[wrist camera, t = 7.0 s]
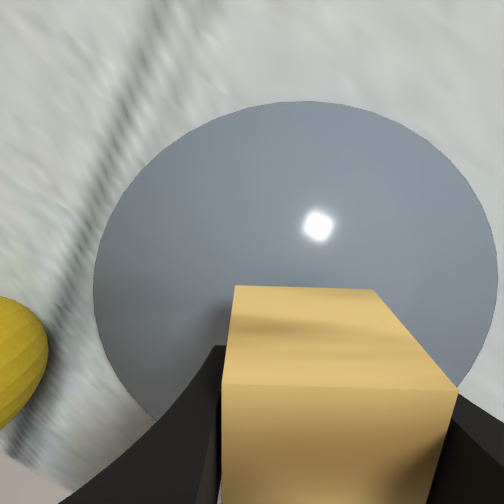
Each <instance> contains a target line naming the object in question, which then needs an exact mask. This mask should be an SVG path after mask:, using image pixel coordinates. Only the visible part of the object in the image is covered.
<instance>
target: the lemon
mask: <svg viewBox="0 0 504 504" xmlns="http://www.w3.org/2000/svg"><path fill="white" fill-rule="evenodd" d="M48 351H49V349H48V341H47V335H46V332H45V330H44V328H43V325H42V324H41V322H40V321H39V320H38V318H37V317H36V316H35V315H34V314H33V313H32V312H31V311H30V310H29V309H28V308H26V307H25V306H23V305H21V304H19V303H18V302H16V301H14V300H11V299H8V298H5V297H2V296H0V430H1V429H2V428H3V427H4V426H5V425H6V424H7V423H9V422H10V421H11V420H12V419H13V418H14V417H15V416H16V415H17V414H18V413H19V411H20V410H21V409H22V408H23V407H24V406H25V404H26V403H27V402H28V400H29V399H30V397H31V396H32V394H33V393H34V391H35V389H36V387H37V386H38V384H39V382H40V380H41V378H42V376H43V374H44V371H45V368H46V364H47V358H48Z"/></svg>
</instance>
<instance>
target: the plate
mask: <svg viewBox="0 0 504 504" xmlns="http://www.w3.org/2000/svg"><path fill="white" fill-rule="evenodd" d="M235 285H245V286H278V287H311V288H344V289H373V290H374V291H375V293H376V294H377V295H378V296H379V297H380V298H381V300H382V301H383V302H384V303H385V304H386V305H387V307H388V308H389V309H390V310H391V311H392V312H393V314H394V315H395V316H396V317H397V318H398V320H399V321H400V322H401V323H402V324H403V325H404V327H405V328H406V329H407V330H408V331H409V332H410V334H411V335H412V336H413V337H414V338H415V339H416V341H417V342H418V343H419V344H420V345H421V347H422V348H423V349H424V350H425V351H426V352H427V354H428V355H429V356H430V357H431V358H432V359H433V361H434V362H435V363H436V364H437V365H438V367H439V368H440V369H441V370H442V371H443V372H444V374H445V375H446V376H447V377H448V378H449V379H450V381H451V382H452V383H453V384H454V385H455V386H456V388H457V387H458V386H459V384H460V383H461V382H462V380H463V379H464V377H465V376H466V375H467V373H468V372H469V370H470V369H471V367H472V366H473V364H474V362H475V360H476V358H477V356H478V354H479V353H480V351H481V349H482V347H483V344H484V342H485V339H486V336H487V334H488V331H489V329H490V326H491V322H492V318H493V313H494V309H495V305H496V298H497V286H498V268H497V253H496V249H495V244H494V240H493V235H492V231H491V227H490V225H489V222H488V220H487V217H486V215H485V212H484V210H483V207H482V205H481V203H480V201H479V199H478V198H477V196H476V194H475V193H474V191H473V189H472V188H471V186H470V184H469V183H468V181H467V180H466V179H465V177H464V176H463V175H462V174H461V173H460V171H459V170H458V169H457V168H456V167H455V166H454V164H453V163H452V162H451V161H450V160H449V159H448V158H447V157H446V156H445V155H444V154H442V153H441V152H440V151H439V150H438V149H437V148H436V147H434V146H433V145H432V144H431V143H430V142H429V141H427V140H426V139H424V138H423V137H421V136H419V135H418V134H416V133H415V132H413V131H411V130H410V129H408V128H407V127H405V126H403V125H402V124H399V123H397V122H395V121H392V120H390V119H388V118H385V117H383V116H380V115H378V114H376V113H373V112H370V111H366V110H362V109H358V108H354V107H350V106H346V105H342V104H333V103H323V102H314V101H302V102H278V103H272V104H267V105H262V106H256V107H251V108H246V109H243V110H240V111H237V112H234V113H231V114H228V115H225V116H222V117H219V118H216V119H214V120H212V121H210V122H208V123H206V124H204V125H202V126H200V127H198V128H196V129H194V130H192V131H190V132H188V133H187V134H185V135H184V136H182V137H181V138H180V139H178V140H177V141H175V142H174V143H172V144H171V145H170V146H168V147H167V148H165V149H164V150H163V151H162V152H160V153H159V154H158V155H157V156H156V157H155V158H154V159H153V160H152V161H151V162H150V163H149V164H148V165H147V166H146V167H144V168H143V169H142V170H141V172H140V173H139V174H138V175H137V177H136V178H135V179H134V180H133V182H132V183H131V184H130V185H129V187H128V188H127V189H126V190H125V192H124V193H123V195H122V197H121V198H120V200H119V202H118V203H117V205H116V207H115V209H114V210H113V212H112V214H111V216H110V218H109V220H108V223H107V225H106V228H105V230H104V233H103V236H102V238H101V241H100V245H99V249H98V254H97V258H96V262H95V269H94V282H93V298H94V313H95V318H96V322H97V327H98V332H99V336H100V339H101V341H102V344H103V347H104V350H105V352H106V355H107V358H108V359H109V361H110V363H111V365H112V367H113V369H114V371H115V373H116V374H117V376H118V378H119V379H120V381H121V382H122V383H123V385H124V386H125V388H126V389H127V390H128V392H129V393H130V395H131V396H132V397H133V398H134V399H135V400H136V401H137V402H138V403H139V404H140V405H141V407H142V408H143V409H144V410H145V411H146V412H148V413H149V414H150V415H151V416H152V417H153V418H155V419H156V420H157V421H158V420H159V419H160V418H161V417H162V416H163V415H164V413H165V412H166V411H167V410H168V409H169V408H170V407H171V406H172V404H173V403H174V402H175V401H176V399H177V398H178V397H179V396H180V395H181V393H182V392H183V391H184V390H185V388H186V387H187V386H188V385H189V383H190V382H191V380H192V379H193V378H194V376H195V375H196V373H197V372H198V371H199V369H200V368H201V366H202V365H203V363H204V361H205V360H206V358H207V357H208V355H209V353H210V351H211V349H212V348H213V347H214V346H215V345H227V341H228V334H229V327H230V319H231V312H232V305H233V298H234V290H235Z"/></svg>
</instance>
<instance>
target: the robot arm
mask: <svg viewBox="0 0 504 504" xmlns="http://www.w3.org/2000/svg"><path fill="white" fill-rule="evenodd" d="M226 348H227V345H215V346H214V347H213V348H212V349H211V351H210V353H209V355H208V357H207V358H206V360H205V361H204V363H203V365H202V366H201V368H200V369H199V371H198V372H197V373H196V375H195V376H194V378H193V379H192V380H191V382H190V383H189V385H188V386H187V387H186V388H185V390H184V391H183V392H182V393H181V395H180V396H179V397H178V398H177V399H176V401H175V402H174V403H173V404H172V406H171V407H170V408H169V409H168V410H167V411H166V412H165V413H164V415H163V416H162V417H161V418H160V419H159V420H158V421H157V422H156V423H155V424H154V425H153V426H152V427H151V428H150V429H149V430H148V431H147V432H146V433H145V434H144V435H143V436H142V437H141V438H140V439H139V440H138V441H137V442H135V443H134V444H133V445H132V446H131V447H130V448H129V449H128V450H127V451H126V452H124V453H123V454H122V455H121V456H120V457H119V458H118V459H116V460H115V461H114V462H113V463H111V464H110V465H109V466H108V467H106V468H105V469H104V470H103V471H101V472H100V473H99V474H98V475H96V476H95V477H94V478H93V479H91V480H90V481H89V482H88V483H86V484H85V485H84V486H82V487H81V488H80V489H78V490H77V491H76V492H74V493H73V494H72V495H70V496H69V497H67V498H66V499H64V500H63V501H61V502H60V503H58V504H217V499H218V493H219V487H220V481H221V475H222V377H223V370H224V363H225V355H226ZM426 504H504V423H503V422H501V421H499V420H498V419H496V418H495V417H493V416H492V415H490V414H489V413H487V412H485V411H484V410H482V409H481V408H479V407H478V406H476V405H475V404H473V403H472V402H470V401H469V400H467V399H466V398H465V397H463V396H462V395H460V394H459V393H458V396H457V399H456V403H455V406H454V409H453V413H452V416H451V420H450V423H449V426H448V430H447V433H446V437H445V440H444V443H443V447H442V450H441V454H440V457H439V460H438V464H437V467H436V471H435V474H434V477H433V481H432V484H431V488H430V491H429V494H428V498H427V501H426Z"/></svg>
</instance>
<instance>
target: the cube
mask: <svg viewBox="0 0 504 504" xmlns="http://www.w3.org/2000/svg"><path fill="white" fill-rule="evenodd" d="M458 392H459V390H458V389H457V388H456V386H455V385H454V384H453V383H452V382H451V381H450V379H449V378H448V377H447V376H446V375H445V374H444V372H443V371H442V370H441V369H440V368H439V367H438V365H437V364H436V363H435V362H434V361H433V359H432V358H431V357H430V356H429V355H428V354H427V352H426V351H425V350H424V349H423V348H422V347H421V345H420V344H419V343H418V342H417V341H416V339H415V338H414V337H413V336H412V335H411V334H410V332H409V331H408V330H407V329H406V328H405V327H404V325H403V324H402V323H401V322H400V321H399V320H398V318H397V317H396V316H395V315H394V314H393V312H392V311H391V310H390V309H389V308H388V307H387V305H386V304H385V303H384V302H383V301H382V300H381V298H380V297H379V296H378V295H377V294H376V293H375V291H374V290H373V289H344V288H311V287H278V286H245V285H235V290H234V298H233V305H232V312H231V319H230V327H229V334H228V341H227V348H226V355H225V363H224V370H223V377H222V504H426V501H427V498H428V494H429V491H430V488H431V484H432V481H433V477H434V474H435V471H436V467H437V464H438V460H439V457H440V454H441V450H442V447H443V443H444V440H445V437H446V433H447V430H448V426H449V423H450V420H451V416H452V413H453V409H454V406H455V403H456V399H457V396H458Z"/></svg>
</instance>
